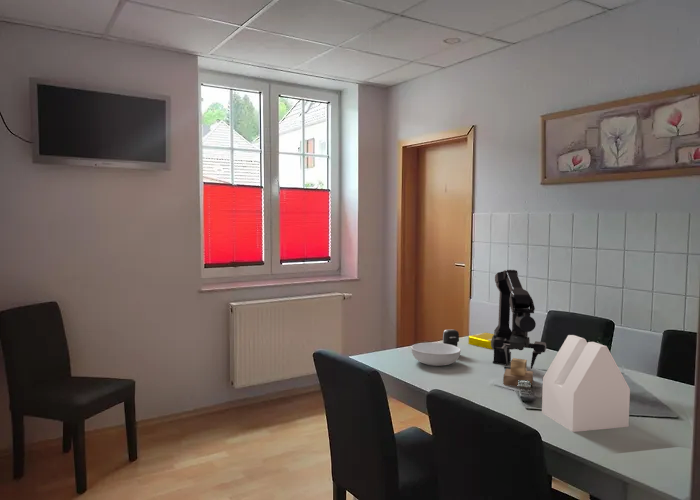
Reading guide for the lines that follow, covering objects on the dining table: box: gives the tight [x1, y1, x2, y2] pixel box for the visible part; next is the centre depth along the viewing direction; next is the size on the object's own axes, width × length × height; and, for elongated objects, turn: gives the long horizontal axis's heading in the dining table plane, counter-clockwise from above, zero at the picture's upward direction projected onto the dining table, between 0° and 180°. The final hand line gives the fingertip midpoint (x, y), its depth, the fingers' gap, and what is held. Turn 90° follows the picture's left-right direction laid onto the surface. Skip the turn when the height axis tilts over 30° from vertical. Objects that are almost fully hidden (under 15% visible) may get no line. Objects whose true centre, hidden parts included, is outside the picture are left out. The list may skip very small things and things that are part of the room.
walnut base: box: [502, 368, 534, 387], centre depth 199 cm, size 10×10×4 cm
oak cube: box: [510, 357, 528, 376], centre depth 199 cm, size 5×5×5 cm
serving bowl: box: [411, 342, 461, 367], centre depth 225 cm, size 21×21×7 cm
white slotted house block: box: [541, 334, 631, 433], centre depth 162 cm, size 19×15×25 cm
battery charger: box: [442, 329, 460, 347], centre depth 239 cm, size 7×4×11 cm, turn 105°
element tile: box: [467, 332, 494, 350], centre depth 260 cm, size 15×15×5 cm
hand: (518, 366), depth 199 cm, fingers open, 9 cm apart
